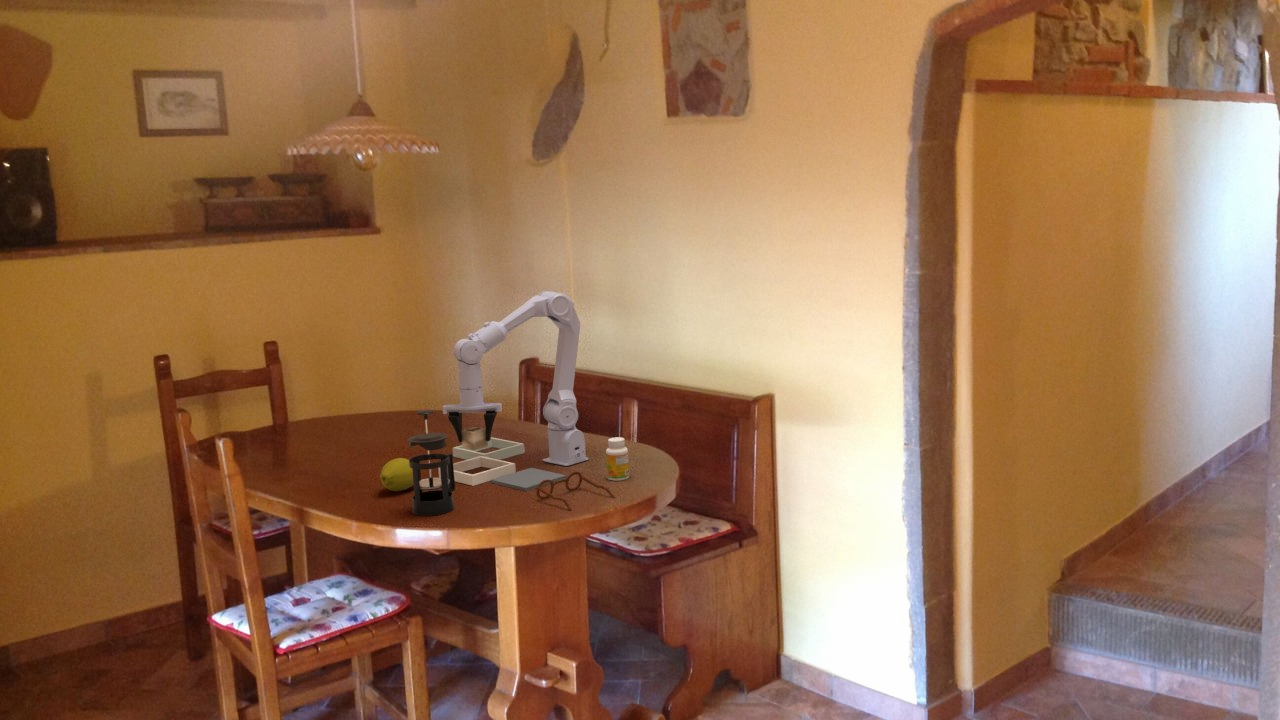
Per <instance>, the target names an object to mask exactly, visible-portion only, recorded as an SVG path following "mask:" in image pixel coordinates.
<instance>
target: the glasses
mask: <svg viewBox="0 0 1280 720" xmlns="http://www.w3.org/2000/svg"><path fill="white" fill-rule="evenodd" d="M574 475H577V476H578V477H579V481H578V484H577V485H576V486H575V487H571V488H570V486H569V481H570V479H571V478H572V477H573V476H574ZM583 481H584V482H586V483H588V484H590V485H591V486H594V487H596V488H597V489H602V490H604V491H606V493H608V494H609V496H610V497H611V499H616V496H615V494H613V493H612V491H611V490H610V489H609V488H608V487H606V486H604V485H600V484H597V483H596V482H594V481H592V480H591V479H588V478H587V477H585V476H583V475H582V473H580V472H579V471H573V472H570V473H569V474H568V476H566V479H561V480H558V481H555V482H554V483H553V482H552V481H551V480H548V479H547V480H543V481H542V482H540V483H539V485H538V487H537V488H536V497H538V499H540V500H545V499H548V498H551V499H553V500H555V501H562V502H563V503H564V505H565V506H566V508H567V509H568V510H569V511H571V512H573V511H574V510H573V508H572V506H571V505H570V504H569V502H568V501H567V500H566V499H565V498H563V497H560V496H556V495H554V494H553V491H554V486H555V485H557V484H560V483H565V489H566V490H568V491H569V492H573V491H576V489H577V490H578V489H579V488H580V487H581V485H582V483H583ZM546 482H549V483H550V484H549V485H550V490H549V491H547V490H545V489H543V488H542V486H541V485H542V484H544V483H546ZM572 490H573V491H572ZM540 492H541V493H542V494H545V496H544V495H543V496H541V495H540Z"/></svg>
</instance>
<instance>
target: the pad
mask: <svg viewBox="0 0 1280 720" xmlns="http://www.w3.org/2000/svg"><path fill="white" fill-rule="evenodd" d="M566 478H567V475H566V474H561V473H557V472H553V471H547V470H544V469H540V468H535V467H529V468H525V469H522V470H519V471H516V472H515V473H512V474H508V475H505V476H501V477H498V478H495V479H491V481H490V483H491V484H494V485H499V486H503V487H507V488H512V489H516V490H520V491H523V492H527V491H531V490H534V489H537V487H538V485H539V483H540V482H542V481H543V480H547V479H548V480H551V481H552V482H553V483H554V482H555V481H558V480H561V479H565V480H566ZM546 485H547V486H548V485H551V484H550V483H549V482H546V483H544V484H542V485H541V487H544V486H546Z"/></svg>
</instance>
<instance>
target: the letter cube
mask: <svg viewBox="0 0 1280 720" xmlns="http://www.w3.org/2000/svg"><path fill="white" fill-rule="evenodd" d="M461 434H462V442H461V445H462V447H463V448H465V449H470V450H477V449H481V448H484V447H488V441H486V428H483V427H478V426H473V427H469V428H465V429H462V430H461Z"/></svg>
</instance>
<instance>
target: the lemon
mask: <svg viewBox="0 0 1280 720" xmlns="http://www.w3.org/2000/svg"><path fill="white" fill-rule="evenodd" d="M379 479H380V481H381V484H382V485H383V487H384V488H385V489H387V490H389V491H392V492H396V493H397V492H402V491H406V490H408V489H409V488H410V487H413V485H412V484H413V483H414V482H413V471H412V468H410V466H409V459H407V458H404V457H397V458H393V459H391V460H389V461H388V462H386V463H385V464H384V465H383V467H382V468H381V470H380V474H379Z"/></svg>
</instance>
